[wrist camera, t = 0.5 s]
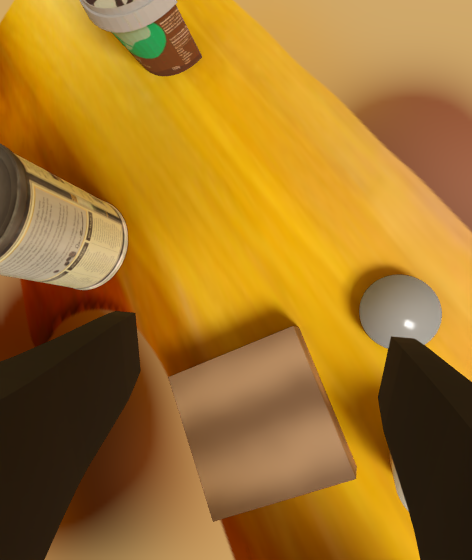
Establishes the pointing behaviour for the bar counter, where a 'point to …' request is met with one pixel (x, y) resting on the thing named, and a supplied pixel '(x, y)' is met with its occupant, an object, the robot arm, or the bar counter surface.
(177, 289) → the bar counter surface
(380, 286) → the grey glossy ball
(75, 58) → the bar counter surface
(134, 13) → the food container
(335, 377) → the bar counter surface
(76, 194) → the coffee can
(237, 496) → the walnut block
